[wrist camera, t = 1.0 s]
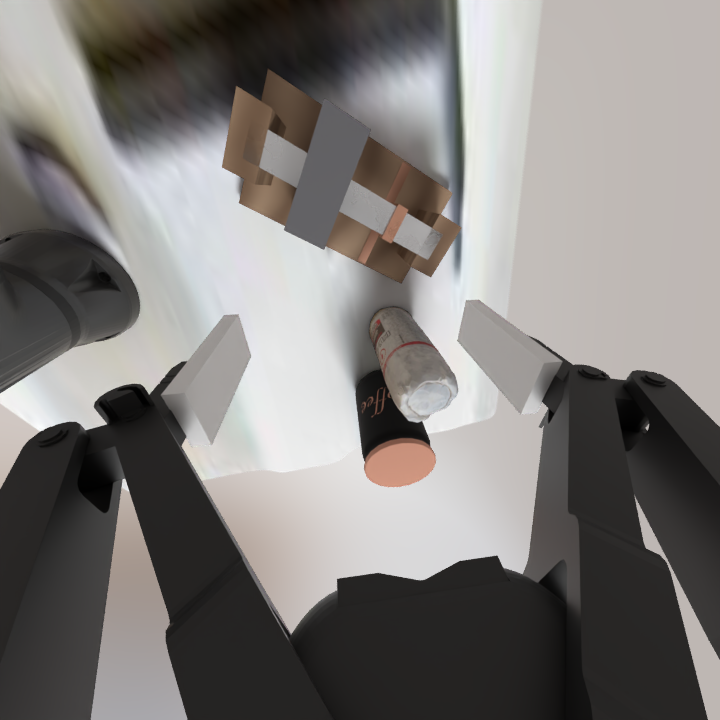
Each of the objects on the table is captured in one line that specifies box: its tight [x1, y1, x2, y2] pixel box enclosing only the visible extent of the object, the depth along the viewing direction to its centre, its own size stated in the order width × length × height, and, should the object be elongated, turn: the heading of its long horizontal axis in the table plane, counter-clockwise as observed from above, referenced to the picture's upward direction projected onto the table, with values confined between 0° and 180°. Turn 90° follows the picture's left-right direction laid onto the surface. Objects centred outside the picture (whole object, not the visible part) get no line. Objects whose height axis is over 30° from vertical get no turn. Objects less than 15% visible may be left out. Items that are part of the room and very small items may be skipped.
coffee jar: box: [356, 370, 436, 487], centre depth 45 cm, size 11×11×18 cm
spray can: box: [369, 307, 458, 423], centre depth 37 cm, size 8×8×20 cm
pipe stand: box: [222, 69, 461, 283], centre depth 30 cm, size 24×13×10 cm, turn 64°
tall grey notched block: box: [284, 98, 371, 249], centre depth 27 cm, size 4×10×10 cm, turn 154°
